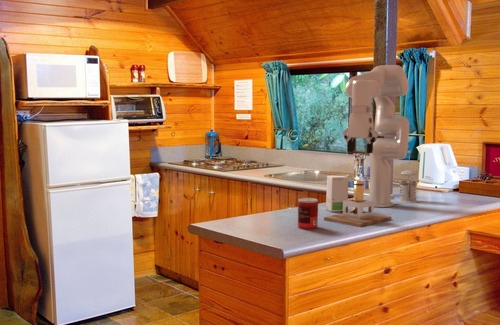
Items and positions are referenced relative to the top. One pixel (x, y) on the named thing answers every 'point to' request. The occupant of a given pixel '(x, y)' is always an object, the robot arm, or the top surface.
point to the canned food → (307, 213)
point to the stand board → (356, 222)
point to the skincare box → (336, 192)
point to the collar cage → (360, 206)
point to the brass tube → (358, 193)
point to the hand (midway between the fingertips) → (359, 152)
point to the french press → (408, 187)
